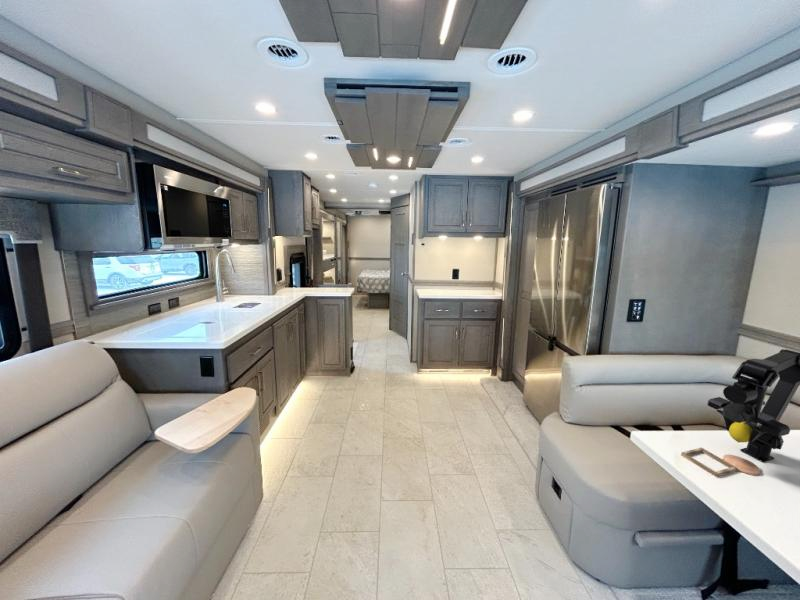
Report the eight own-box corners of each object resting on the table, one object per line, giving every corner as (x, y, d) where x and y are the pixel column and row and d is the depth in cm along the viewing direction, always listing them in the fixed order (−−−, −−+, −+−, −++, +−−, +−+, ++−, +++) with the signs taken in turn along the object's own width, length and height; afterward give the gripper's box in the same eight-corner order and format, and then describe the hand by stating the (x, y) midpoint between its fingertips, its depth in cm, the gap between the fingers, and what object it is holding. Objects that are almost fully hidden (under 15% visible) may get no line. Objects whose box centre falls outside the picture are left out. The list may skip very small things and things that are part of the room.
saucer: (732, 454, 114) (733, 452, 114) (766, 472, 106) (767, 470, 106) (716, 458, 112) (717, 456, 112) (749, 477, 104) (750, 475, 103)
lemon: (754, 448, 104) (760, 428, 102) (734, 446, 105) (740, 426, 104) (740, 438, 109) (746, 418, 108) (722, 435, 111) (727, 416, 109)
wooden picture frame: (700, 450, 117) (701, 447, 116) (736, 470, 107) (737, 467, 106) (680, 455, 114) (681, 452, 113) (716, 476, 104) (716, 473, 104)
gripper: (701, 386, 110) (692, 424, 114) (773, 416, 93) (760, 460, 96) (723, 382, 113) (713, 419, 116) (797, 410, 95) (783, 453, 99)
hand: (739, 436), depth 107 cm, fingers closed on lemon, 5 cm apart
